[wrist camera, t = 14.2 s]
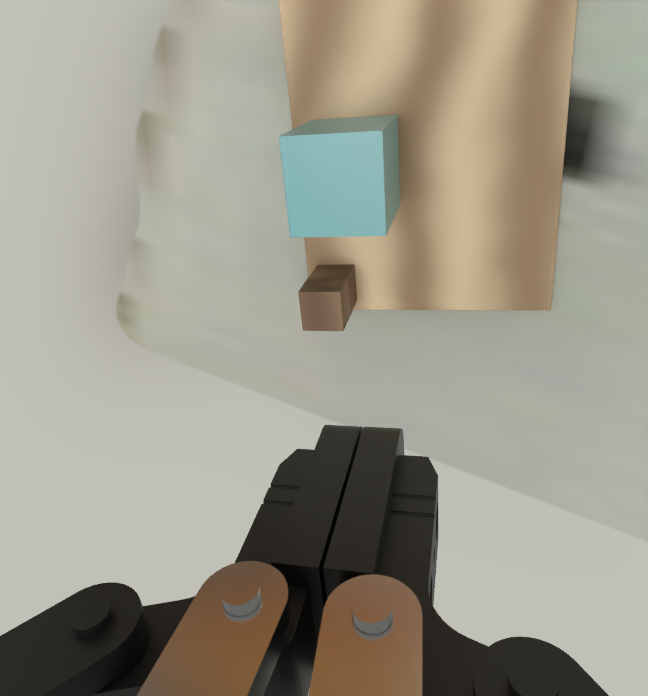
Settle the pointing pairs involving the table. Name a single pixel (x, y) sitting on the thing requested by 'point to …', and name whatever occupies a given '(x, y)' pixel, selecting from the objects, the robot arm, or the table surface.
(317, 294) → the walnut post
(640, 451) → the table surface
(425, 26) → the oak board
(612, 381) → the table surface
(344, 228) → the aqua square block
